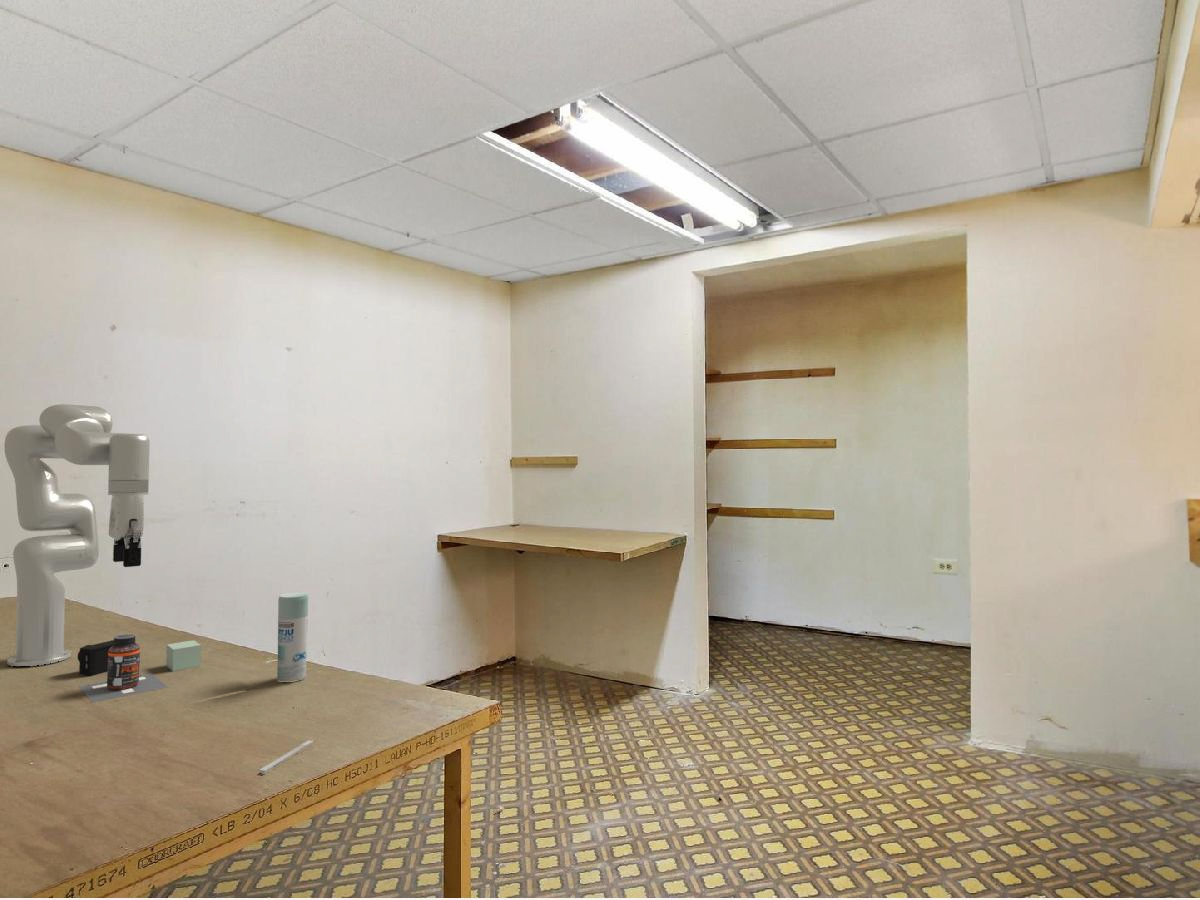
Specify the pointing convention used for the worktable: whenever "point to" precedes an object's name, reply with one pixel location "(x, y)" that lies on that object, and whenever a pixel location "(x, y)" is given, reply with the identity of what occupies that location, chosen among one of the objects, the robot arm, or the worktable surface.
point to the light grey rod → (283, 757)
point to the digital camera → (94, 658)
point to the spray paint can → (292, 636)
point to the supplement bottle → (123, 663)
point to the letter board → (103, 693)
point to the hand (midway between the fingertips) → (126, 563)
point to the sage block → (183, 655)
